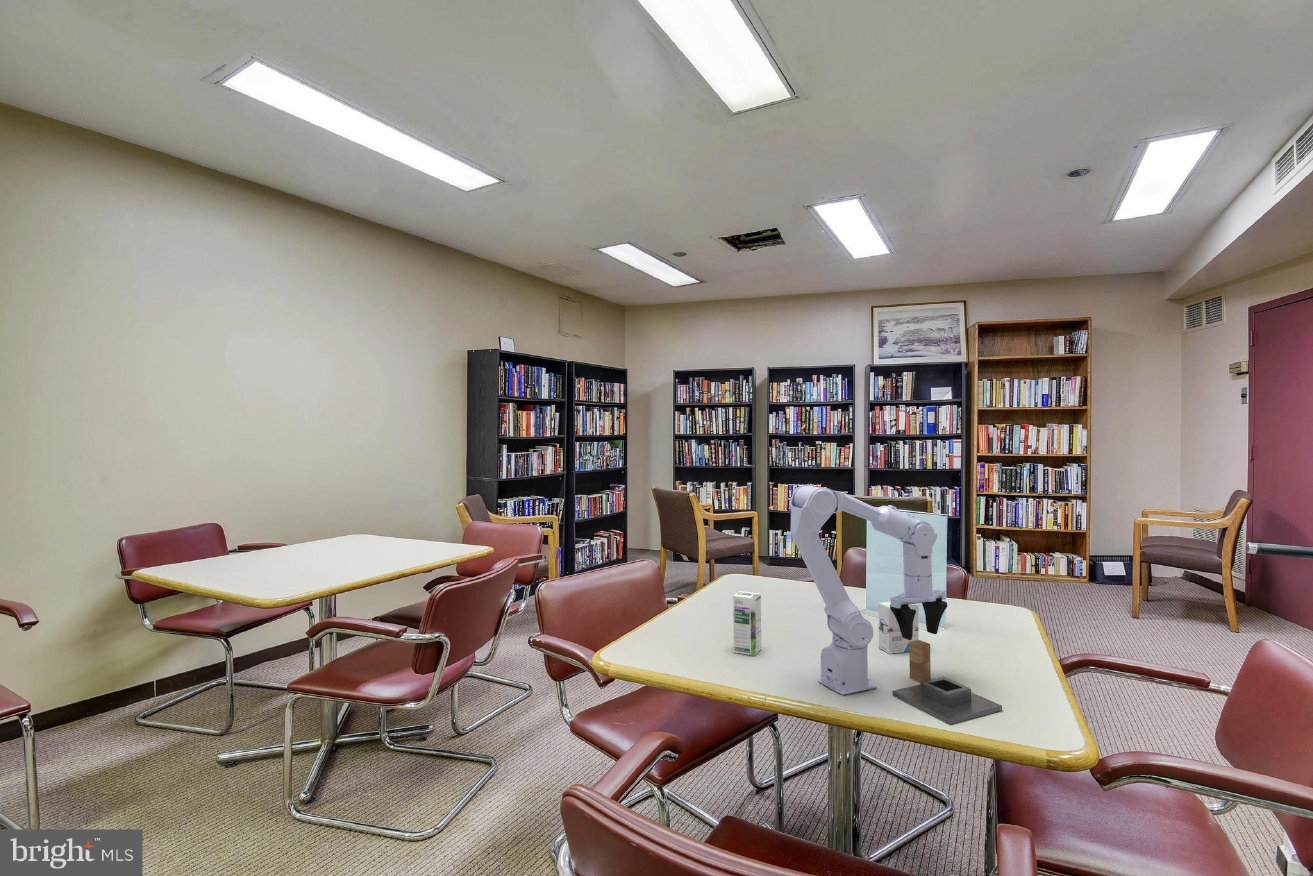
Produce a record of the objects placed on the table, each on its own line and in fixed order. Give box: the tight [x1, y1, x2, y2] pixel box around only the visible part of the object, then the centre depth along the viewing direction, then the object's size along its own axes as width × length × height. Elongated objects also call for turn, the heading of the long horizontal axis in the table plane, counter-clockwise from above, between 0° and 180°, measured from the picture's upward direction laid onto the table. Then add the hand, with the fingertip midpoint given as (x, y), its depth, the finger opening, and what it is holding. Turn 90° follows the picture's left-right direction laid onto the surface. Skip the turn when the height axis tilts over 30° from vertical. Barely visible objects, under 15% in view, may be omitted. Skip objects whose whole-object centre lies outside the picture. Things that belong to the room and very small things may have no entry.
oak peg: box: [908, 639, 932, 683], centre depth 131 cm, size 3×3×8 cm
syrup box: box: [732, 590, 762, 657], centre depth 150 cm, size 6×6×14 cm
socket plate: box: [891, 676, 1003, 725], centre depth 119 cm, size 14×14×4 cm
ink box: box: [878, 601, 919, 655], centre depth 150 cm, size 9×5×12 cm, turn 106°
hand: (919, 635), depth 131 cm, fingers open, 7 cm apart
